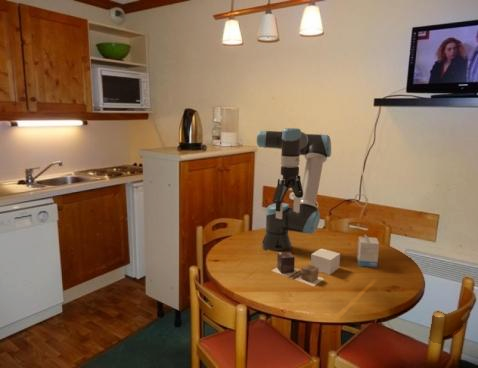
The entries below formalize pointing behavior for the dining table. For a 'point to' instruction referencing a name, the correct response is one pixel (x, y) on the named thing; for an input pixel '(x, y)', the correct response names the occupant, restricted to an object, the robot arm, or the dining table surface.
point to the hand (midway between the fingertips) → (287, 215)
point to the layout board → (307, 281)
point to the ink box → (367, 251)
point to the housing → (325, 261)
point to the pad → (285, 273)
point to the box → (285, 262)
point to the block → (309, 273)
